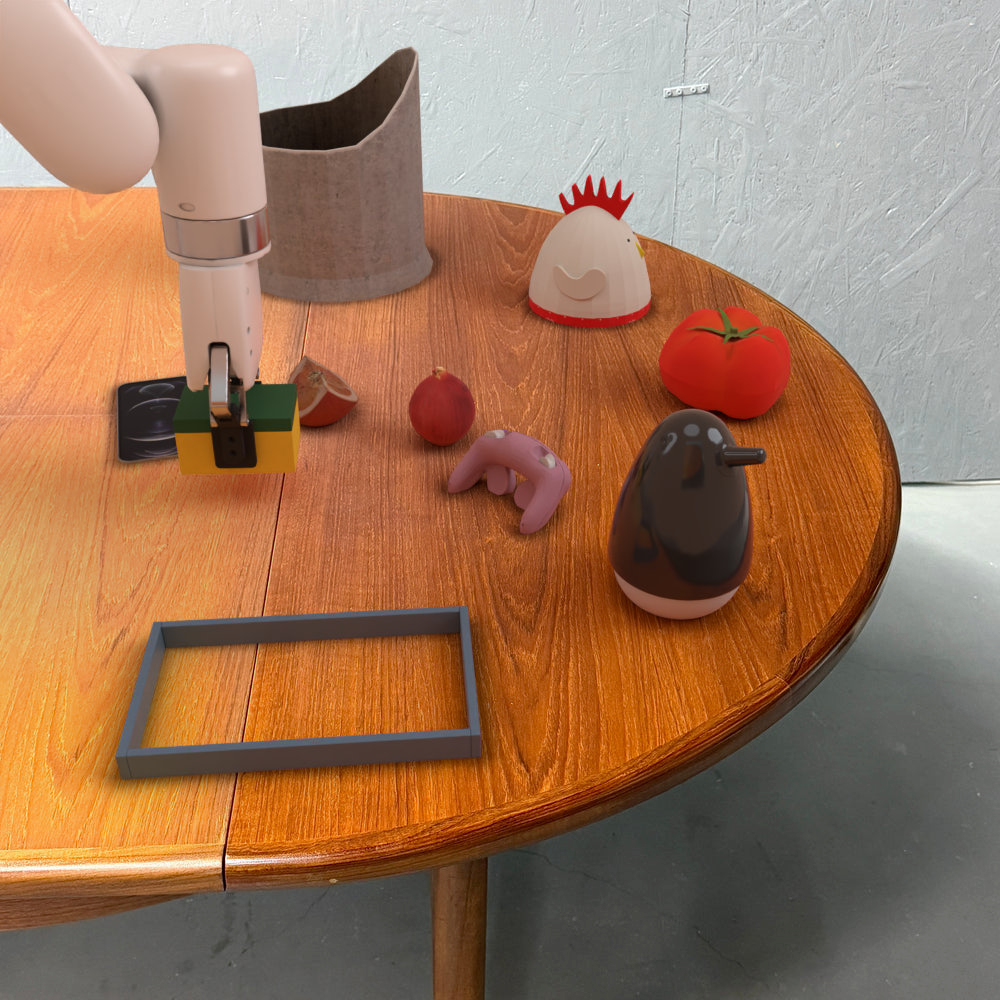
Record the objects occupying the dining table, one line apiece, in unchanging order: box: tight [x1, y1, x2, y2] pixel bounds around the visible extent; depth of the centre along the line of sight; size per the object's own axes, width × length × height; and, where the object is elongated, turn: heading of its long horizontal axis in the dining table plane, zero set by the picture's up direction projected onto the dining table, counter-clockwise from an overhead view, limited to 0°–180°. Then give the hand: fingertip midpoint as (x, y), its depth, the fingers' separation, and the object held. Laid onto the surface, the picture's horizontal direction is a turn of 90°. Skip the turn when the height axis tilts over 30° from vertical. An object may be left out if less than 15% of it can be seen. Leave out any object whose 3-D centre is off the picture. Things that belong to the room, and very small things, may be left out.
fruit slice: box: [286, 354, 360, 428], centre depth 100 cm, size 8×7×5 cm
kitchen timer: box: [528, 174, 652, 329], centre depth 119 cm, size 14×14×15 cm
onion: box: [408, 366, 477, 447], centre depth 95 cm, size 6×6×8 cm
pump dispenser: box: [607, 408, 768, 620], centre depth 75 cm, size 10×10×15 cm
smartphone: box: [116, 375, 187, 465], centre depth 99 cm, size 8×1×15 cm
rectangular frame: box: [115, 605, 482, 781], centre depth 69 cm, size 21×12×2 cm, turn 95°
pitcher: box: [150, 46, 434, 303], centre depth 124 cm, size 23×32×25 cm
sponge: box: [173, 383, 301, 476], centre depth 87 cm, size 9×6×5 cm, turn 95°
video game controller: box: [447, 429, 572, 536], centre depth 88 cm, size 10×5×7 cm, turn 45°
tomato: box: [658, 305, 792, 420], centre depth 101 cm, size 13×12×8 cm
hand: (241, 443), depth 88 cm, fingers closed on sponge, 6 cm apart
